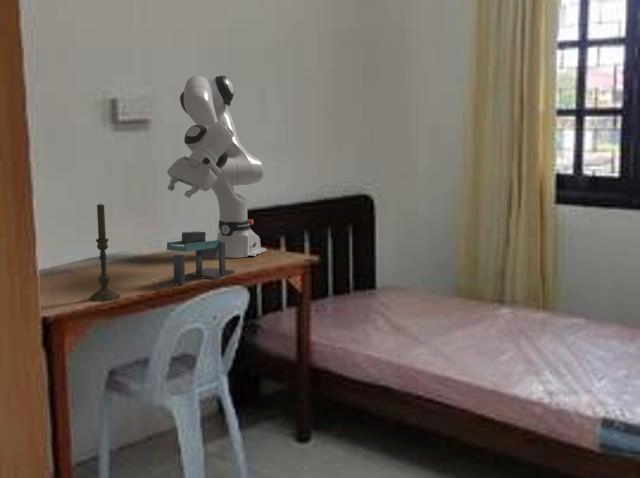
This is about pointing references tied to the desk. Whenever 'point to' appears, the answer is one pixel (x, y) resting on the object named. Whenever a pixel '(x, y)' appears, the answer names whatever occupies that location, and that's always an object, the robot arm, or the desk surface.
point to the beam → (197, 247)
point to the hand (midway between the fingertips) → (178, 193)
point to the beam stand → (200, 267)
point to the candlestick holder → (103, 259)
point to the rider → (193, 237)
